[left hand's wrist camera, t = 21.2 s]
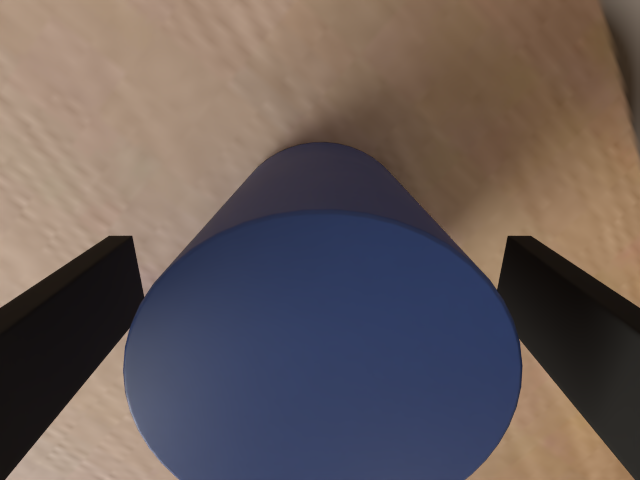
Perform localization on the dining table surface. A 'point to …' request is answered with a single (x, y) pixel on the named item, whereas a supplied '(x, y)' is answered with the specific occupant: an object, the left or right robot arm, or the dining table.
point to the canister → (322, 336)
